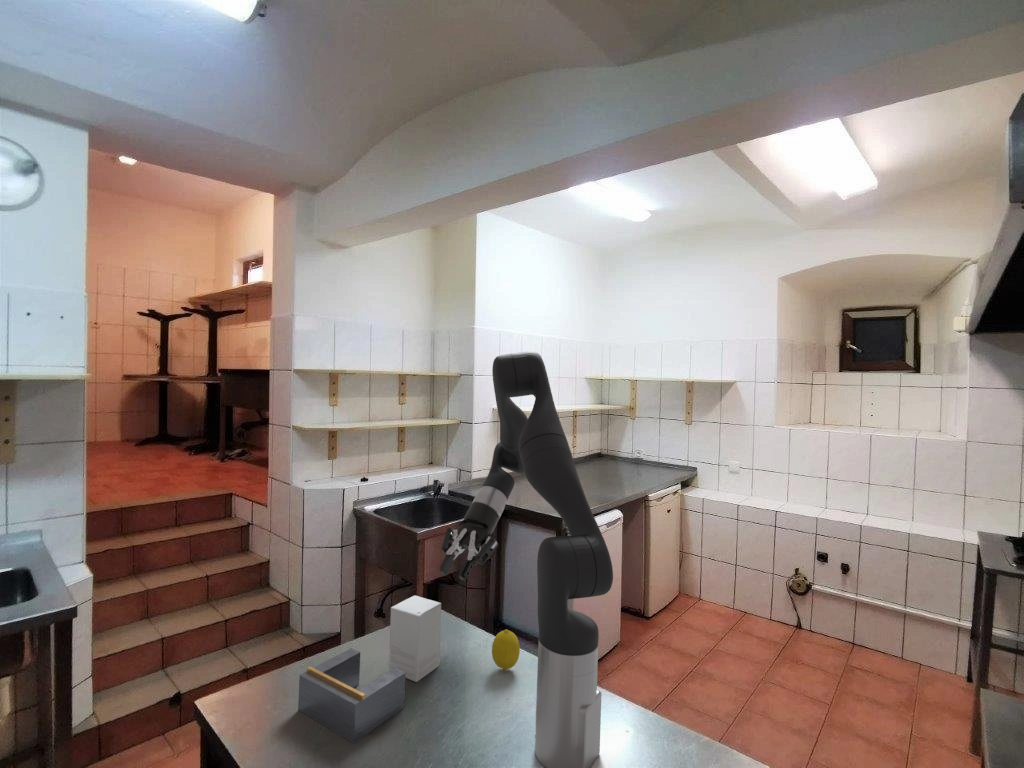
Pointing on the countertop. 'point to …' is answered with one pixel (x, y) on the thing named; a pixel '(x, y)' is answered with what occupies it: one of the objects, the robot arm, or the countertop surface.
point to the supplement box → (415, 637)
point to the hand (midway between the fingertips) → (452, 575)
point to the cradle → (349, 696)
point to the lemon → (505, 649)
